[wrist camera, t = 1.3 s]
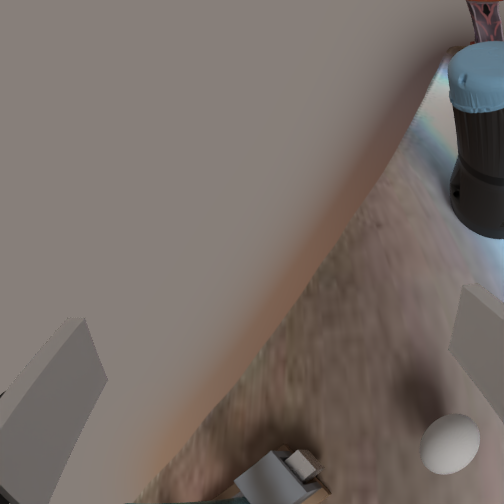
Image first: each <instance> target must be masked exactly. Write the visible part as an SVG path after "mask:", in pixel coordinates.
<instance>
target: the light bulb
mask: <svg viewBox="0 0 504 504" xmlns="http://www.w3.org/2000/svg"><path fill="white" fill-rule="evenodd" d="M479 444H480V433H479V429H478V427H477V425H476V423H475V422H474V421H473V420H472V419H471V418H469V417H468V416H465V415H462V414H449V415H445V416H443V417H441V418H439V419H437V420H436V421H434V422H433V423H432V424H431V425H430V426H429V427H428V428H427V430H426V431H425V433H424V434H423V437H422V439H421V443H420V457H421V460H422V462H423V464H424V465H425V466H426V467H427V468H428V469H429V470H430V471H432V472H434V473H437V474H451V473H454V472H457V471H459V470H461V469H463V468H464V467H465V466H467V465H468V464H469V463H470V462H471V460H472V459H473V458H474V456H475V455H476V453H477V450H478V448H479Z"/></svg>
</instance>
